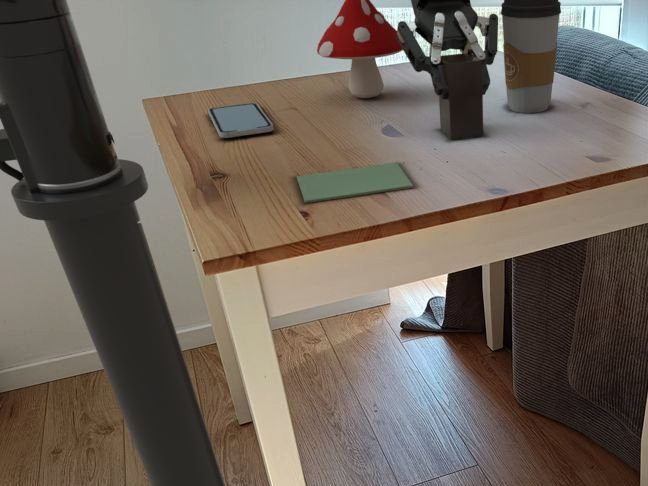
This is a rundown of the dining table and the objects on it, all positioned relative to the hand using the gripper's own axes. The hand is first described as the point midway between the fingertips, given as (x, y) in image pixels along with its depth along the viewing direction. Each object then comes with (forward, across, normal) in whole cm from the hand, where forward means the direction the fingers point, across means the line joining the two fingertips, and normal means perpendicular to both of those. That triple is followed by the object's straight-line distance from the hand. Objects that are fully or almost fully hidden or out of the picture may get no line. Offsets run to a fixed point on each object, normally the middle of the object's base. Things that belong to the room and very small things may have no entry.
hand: (464, 93), depth 88 cm
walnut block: (+3, 0, +5) cm, 6 cm away
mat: (+12, -17, -4) cm, 21 cm away
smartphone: (-9, -28, +17) cm, 34 cm away
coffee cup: (-3, +13, +11) cm, 17 cm away
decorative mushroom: (-14, -8, +22) cm, 28 cm away
